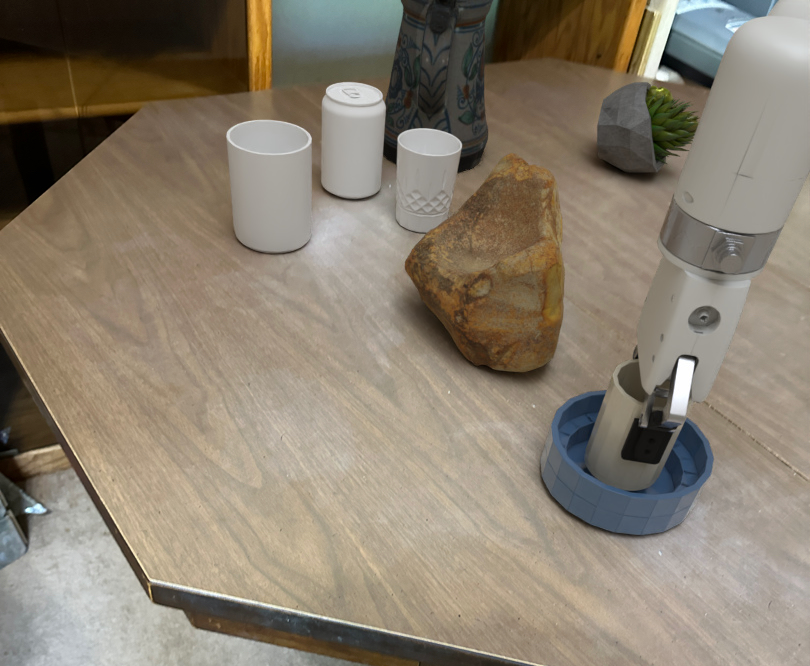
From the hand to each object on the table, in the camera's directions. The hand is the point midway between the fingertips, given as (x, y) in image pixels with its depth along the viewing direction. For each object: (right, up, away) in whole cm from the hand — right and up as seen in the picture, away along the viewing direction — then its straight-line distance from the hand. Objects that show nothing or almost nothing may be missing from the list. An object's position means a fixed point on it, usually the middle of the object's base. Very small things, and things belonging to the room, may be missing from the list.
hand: (636, 428), depth 66 cm
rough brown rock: (-12, +15, +20) cm, 28 cm away
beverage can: (-27, +38, +39) cm, 61 cm away
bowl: (0, -4, +5) cm, 6 cm away
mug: (-36, +29, +30) cm, 55 cm away
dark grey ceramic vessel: (-16, +48, +49) cm, 70 cm away
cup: (0, -3, +3) cm, 4 cm away
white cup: (-18, +32, +35) cm, 51 cm away
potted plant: (+15, +48, +52) cm, 72 cm away
